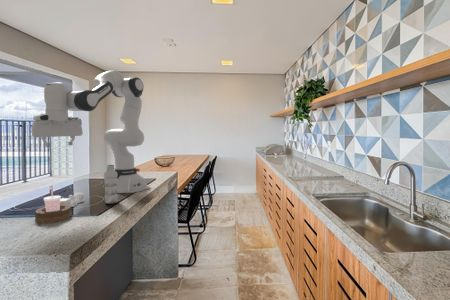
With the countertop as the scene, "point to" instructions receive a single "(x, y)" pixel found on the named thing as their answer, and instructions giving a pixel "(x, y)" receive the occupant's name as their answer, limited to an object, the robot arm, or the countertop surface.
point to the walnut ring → (53, 214)
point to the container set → (73, 199)
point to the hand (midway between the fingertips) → (59, 146)
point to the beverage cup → (52, 202)
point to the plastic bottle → (110, 185)
